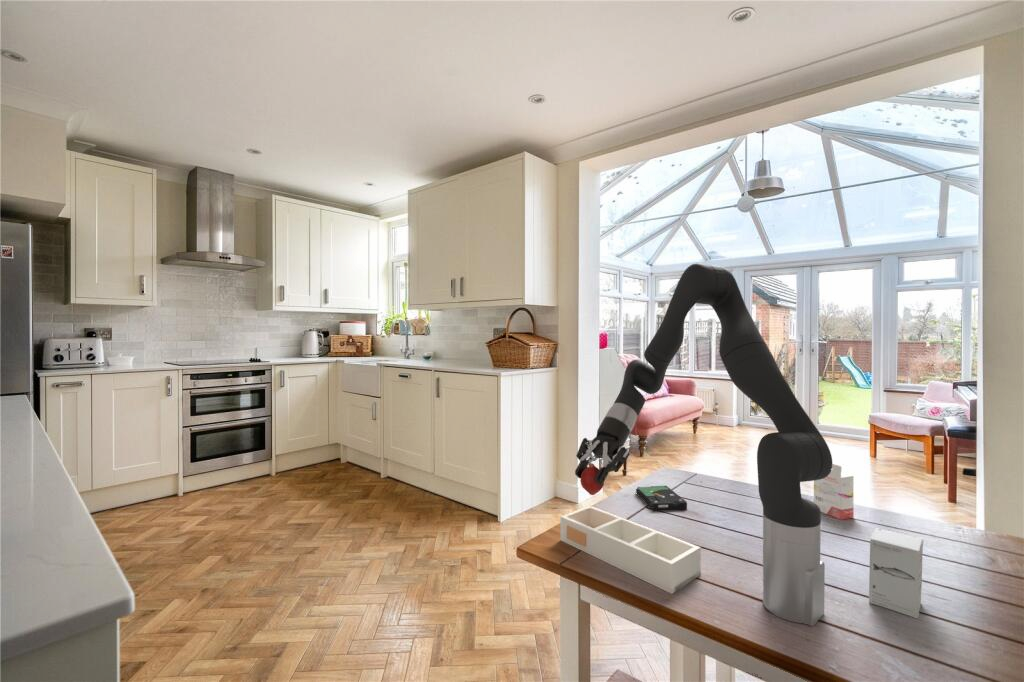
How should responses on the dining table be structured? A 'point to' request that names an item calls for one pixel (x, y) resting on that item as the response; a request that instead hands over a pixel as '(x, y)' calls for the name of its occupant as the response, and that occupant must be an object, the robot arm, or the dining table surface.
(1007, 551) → the dining table surface
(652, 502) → the disk drive
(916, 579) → the supplement box
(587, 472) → the onion
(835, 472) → the ink cartridge box
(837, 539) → the dining table surface
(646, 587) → the dining table surface
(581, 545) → the compartment tray
